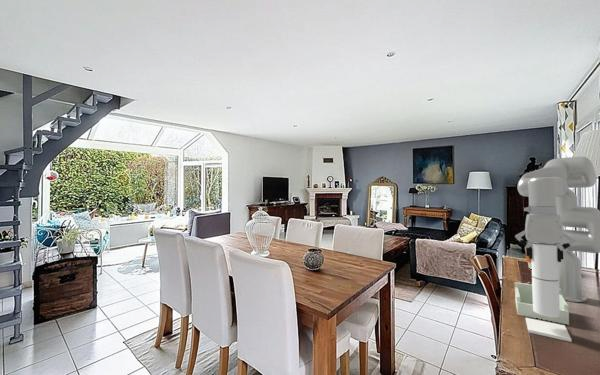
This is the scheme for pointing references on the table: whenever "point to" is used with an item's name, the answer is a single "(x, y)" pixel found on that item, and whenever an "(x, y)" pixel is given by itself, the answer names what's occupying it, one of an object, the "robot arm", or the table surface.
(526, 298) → the frame
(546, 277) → the cylindrical container
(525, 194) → the robot arm
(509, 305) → the table surface
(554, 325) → the tile
